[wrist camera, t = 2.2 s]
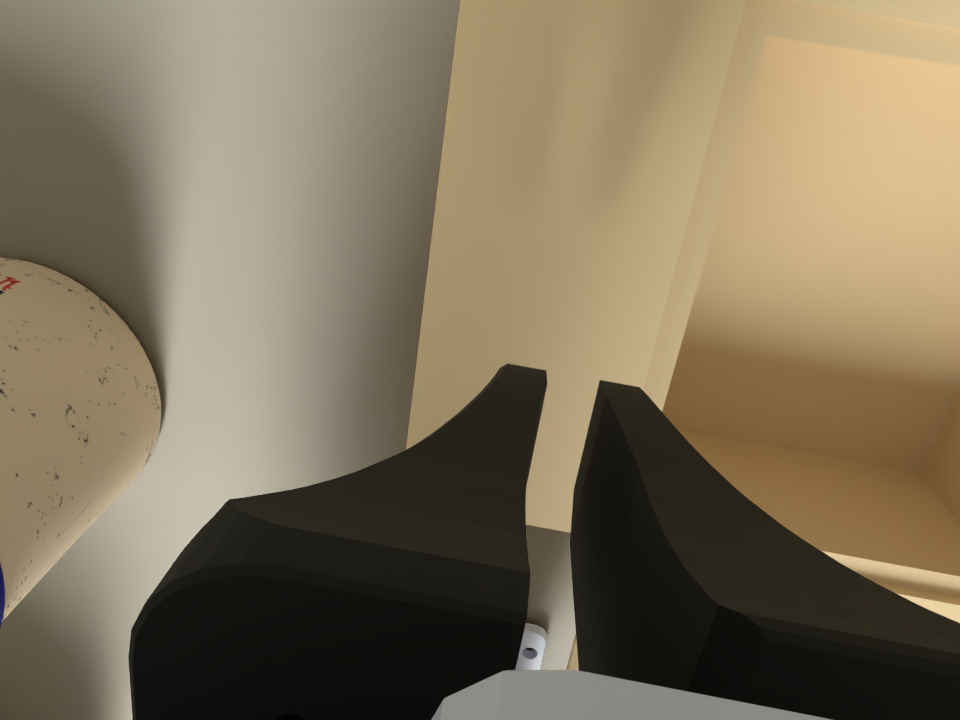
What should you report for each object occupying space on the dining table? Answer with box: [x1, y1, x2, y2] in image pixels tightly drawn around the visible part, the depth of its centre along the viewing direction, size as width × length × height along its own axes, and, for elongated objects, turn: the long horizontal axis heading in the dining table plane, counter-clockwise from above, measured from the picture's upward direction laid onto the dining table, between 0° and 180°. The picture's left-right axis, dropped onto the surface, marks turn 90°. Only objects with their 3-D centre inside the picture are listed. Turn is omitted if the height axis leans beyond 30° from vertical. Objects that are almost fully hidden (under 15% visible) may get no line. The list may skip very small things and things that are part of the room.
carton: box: [406, 0, 960, 670], centre depth 17 cm, size 22×15×8 cm
